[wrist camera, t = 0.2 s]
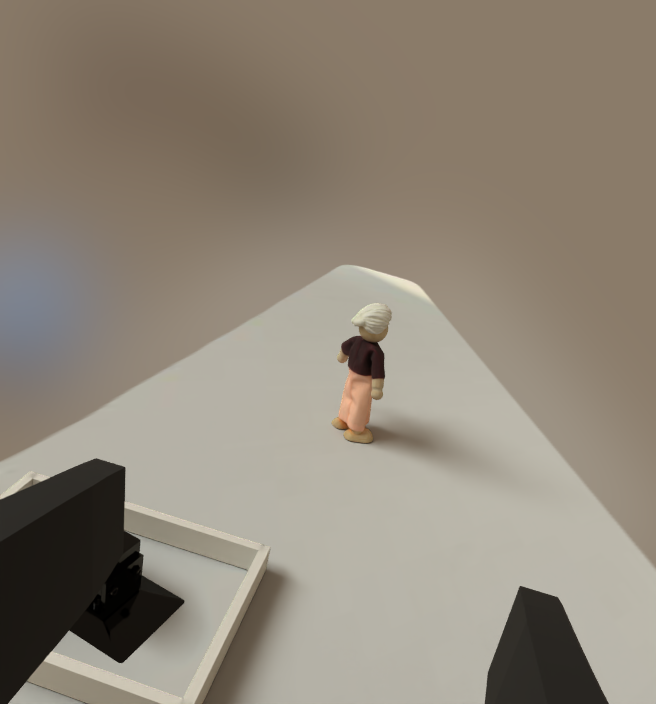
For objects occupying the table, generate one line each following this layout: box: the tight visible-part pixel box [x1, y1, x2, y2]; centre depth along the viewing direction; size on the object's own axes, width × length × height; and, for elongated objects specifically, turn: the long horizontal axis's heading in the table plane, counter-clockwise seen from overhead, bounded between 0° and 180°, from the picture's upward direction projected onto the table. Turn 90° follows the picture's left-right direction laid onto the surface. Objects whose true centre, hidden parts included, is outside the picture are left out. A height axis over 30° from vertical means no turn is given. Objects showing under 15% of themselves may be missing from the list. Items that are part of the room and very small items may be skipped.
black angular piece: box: [69, 531, 184, 663], centre depth 36 cm, size 12×7×5 cm, turn 63°
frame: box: [0, 471, 270, 704], centre depth 36 cm, size 12×17×2 cm
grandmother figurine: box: [332, 303, 391, 443], centre depth 57 cm, size 8×4×13 cm, turn 38°
